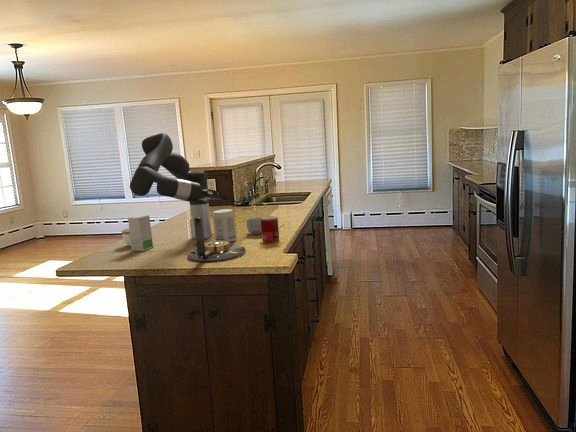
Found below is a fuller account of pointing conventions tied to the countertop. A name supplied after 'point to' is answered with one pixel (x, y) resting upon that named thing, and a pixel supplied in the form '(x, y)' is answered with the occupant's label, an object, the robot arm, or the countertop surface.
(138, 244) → the skincare box
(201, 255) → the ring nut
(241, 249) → the flange plate
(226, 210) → the supplement tub
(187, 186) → the robot arm
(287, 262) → the countertop surface
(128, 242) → the lidded jar
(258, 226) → the teacup
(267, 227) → the canned food
